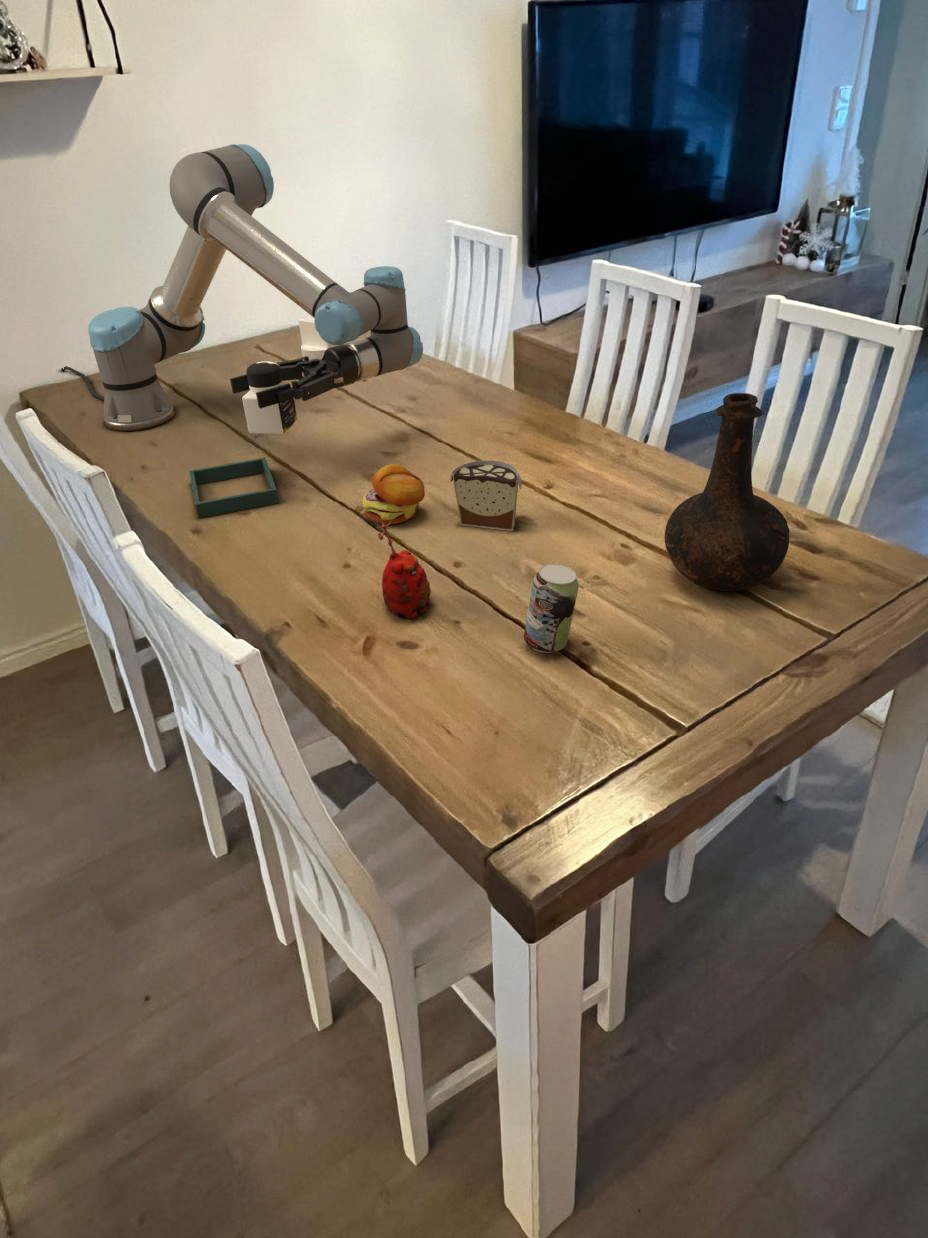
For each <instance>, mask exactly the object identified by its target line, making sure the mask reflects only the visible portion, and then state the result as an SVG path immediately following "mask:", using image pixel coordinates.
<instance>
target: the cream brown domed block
mask: <svg viewBox="0 0 928 1238" xmlns="http://www.w3.org/2000/svg"><path fill="white" fill-rule="evenodd" d="M449 483H453V488H454V493H455V499H456V500H455V501H456V506H457V511H458V516H459V523H460V526H465V527H472V528H473V527H474V528H480V529H482V528H483V529H489V530H490V529H491V530H497V531H498V530H499V531H507V532H514V529H515V525H516V512H517V502H518V491H519V490H521V489H522V487H523V483H522V478H521V475H520V472H519V470H518V469H517V468H516V467H515V466H514V465H512V464H511V463H508V462H504V461H501V460H492V459H490V460H488V459H485V460H484V459H483V460H475V461H469V462H466V463H463V464H460V465H459V466H457V467H455V468H454V469H453V470H452V471H451V474H450V479H449ZM518 489H519V490H518Z"/></svg>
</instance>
